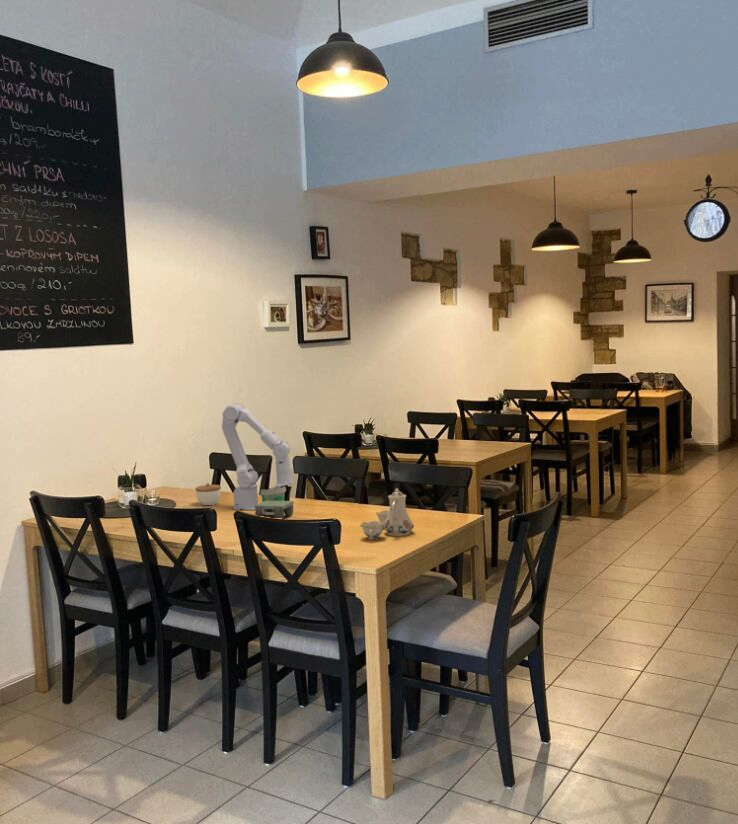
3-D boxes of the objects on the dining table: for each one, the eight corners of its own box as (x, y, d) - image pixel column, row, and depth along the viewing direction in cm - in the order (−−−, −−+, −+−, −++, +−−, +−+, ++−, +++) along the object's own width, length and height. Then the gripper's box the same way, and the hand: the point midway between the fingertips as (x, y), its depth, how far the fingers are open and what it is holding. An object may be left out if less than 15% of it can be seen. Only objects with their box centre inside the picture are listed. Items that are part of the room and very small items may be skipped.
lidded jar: (224, 501, 356) (223, 480, 355) (217, 506, 345) (216, 485, 344) (200, 502, 357) (199, 481, 356) (193, 507, 346) (191, 485, 345)
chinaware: (378, 527, 302) (371, 484, 301) (421, 523, 298) (415, 479, 297) (359, 547, 275) (352, 499, 274) (407, 543, 271) (400, 494, 270)
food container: (271, 515, 323) (270, 491, 322) (261, 513, 327) (259, 489, 326) (293, 509, 333) (292, 485, 331) (282, 507, 337) (281, 483, 335)
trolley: (253, 521, 314) (252, 506, 313) (269, 513, 327) (268, 499, 327) (281, 522, 310) (280, 507, 309) (296, 514, 324) (295, 499, 323)
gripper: (285, 474, 327) (287, 507, 328) (299, 468, 341) (301, 500, 342) (269, 474, 329) (271, 507, 331) (283, 468, 343) (286, 500, 344)
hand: (285, 503), depth 337 cm, fingers closed, pressing on food container
